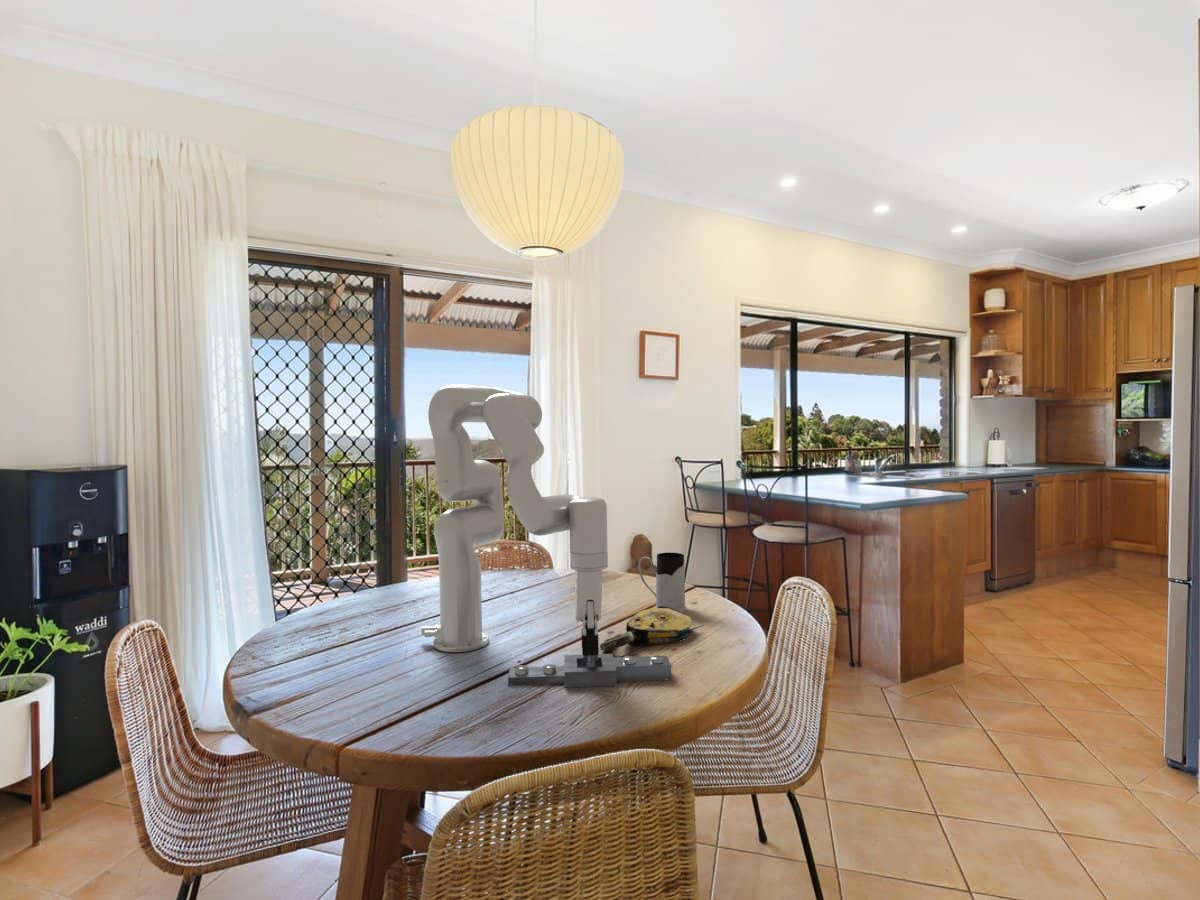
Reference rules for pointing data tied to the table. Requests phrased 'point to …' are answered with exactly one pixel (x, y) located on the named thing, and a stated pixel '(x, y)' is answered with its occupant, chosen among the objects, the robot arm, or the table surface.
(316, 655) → the table surface
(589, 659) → the steel pin
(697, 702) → the table surface
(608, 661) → the chain end right
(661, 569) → the grey black mug
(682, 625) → the pulley block
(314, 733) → the table surface
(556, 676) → the chain end left
